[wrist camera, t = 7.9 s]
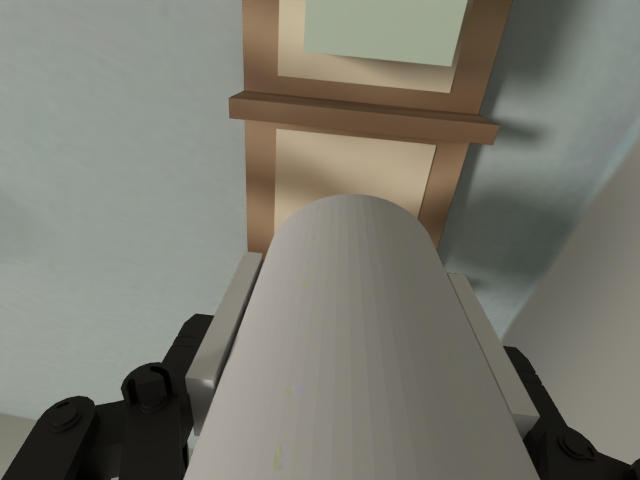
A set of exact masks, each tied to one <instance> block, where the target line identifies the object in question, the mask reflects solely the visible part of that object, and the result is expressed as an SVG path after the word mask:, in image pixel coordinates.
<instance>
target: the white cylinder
mask: <svg viewBox="0 0 640 480" xmlns="http://www.w3.org/2000/svg"><path fill="white" fill-rule="evenodd" d="M183 480H540V478H539V476H538V474H537V472H536V470H535V467H534V465H533V463H532V461H531V459H530V456H529V454H528V452H527V450H526V447H525V445H524V443H523V441H522V439H521V436H520V434H519V432H518V430H517V428H516V425H515V423H514V421H513V419H512V417H511V414H510V412H509V410H508V408H507V406H506V403H505V401H504V399H503V397H502V395H501V392H500V390H499V388H498V386H497V384H496V381H495V379H494V377H493V375H492V373H491V370H490V368H489V366H488V364H487V361H486V359H485V357H484V355H483V353H482V350H481V348H480V346H479V344H478V342H477V339H476V337H475V335H474V333H473V331H472V328H471V326H470V324H469V322H468V320H467V317H466V315H465V313H464V311H463V309H462V306H461V304H460V302H459V300H458V298H457V295H456V293H455V291H454V289H453V286H452V284H451V282H450V280H449V278H448V275H447V273H446V271H445V269H444V267H443V264H442V262H441V260H440V258H439V256H438V253H437V251H436V249H435V247H434V245H433V242H432V240H431V238H430V236H429V234H428V232H427V231H426V229H425V228H424V227H423V225H422V224H421V223H420V222H419V221H418V220H417V219H416V218H415V217H414V216H413V215H412V214H411V213H409V212H408V211H407V210H405V209H404V208H402V207H400V206H399V205H397V204H395V203H393V202H390V201H388V200H385V199H382V198H379V197H375V196H370V195H363V194H341V195H334V196H329V197H325V198H322V199H319V200H316V201H314V202H311V203H309V204H307V205H305V206H303V207H302V208H300V209H299V210H297V211H296V212H294V213H293V214H292V215H291V216H289V217H288V218H287V219H286V220H285V221H284V222H283V224H282V225H281V226H280V227H279V229H278V230H277V232H276V233H275V235H274V237H273V239H272V241H271V244H270V247H269V249H268V252H267V255H266V257H265V260H264V263H263V266H262V268H261V271H260V274H259V276H258V279H257V282H256V284H255V287H254V290H253V293H252V295H251V298H250V301H249V303H248V306H247V309H246V312H245V314H244V317H243V320H242V322H241V325H240V328H239V330H238V333H237V336H236V339H235V341H234V344H233V347H232V349H231V352H230V355H229V357H228V360H227V363H226V366H225V368H224V371H223V374H222V376H221V379H220V382H219V384H218V387H217V390H216V393H215V395H214V398H213V401H212V403H211V406H210V409H209V412H208V414H207V417H206V420H205V422H204V425H203V428H202V430H201V433H200V436H199V439H198V441H197V444H196V447H195V449H194V452H193V455H192V458H191V461H190V463H189V466H188V468H187V471H186V474H185V476H184V479H183Z"/></svg>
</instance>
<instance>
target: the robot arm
mask: <svg viewBox="0 0 640 480" xmlns="http://www.w3.org/2000/svg"><path fill="white" fill-rule="evenodd" d="M261 268H262V253H254V252H245V253H244V255H243V257H242V260H241V262H240V264H239V266H238V268H237V270H236V272H235V274H234V276H233V278H232V280H231V283H230V285H229V287H228V289H227V291H226V293H225V295H224V297H223V299H222V301H221V303H220V305H219V308H218V310H217V312H216V314H215V316H213V315H204V314H195V315H193V316H192V317H191V318H190V319H189V320H187V321H186V322H185V323H184V325H183V327H182V328H181V330H180V332H179V333H178V336H177V337H176V339H175V340H174V342H173V345H172V346H171V347H170V349H169V351H168V353H167V354H166V356H165V358H164V360H163V361H162V363H160V362H156V363H148V364H145V365H142V366H140V367H138V368H136V369H135V370H133V371H132V372H130V374H129V375H128V376H127V377H126V378H125V379H124V381H123V384H122V386H121V391H122V394H123V397H124V400H122V401H117V402H112V403H107V404H101V405H96V406H95V404H94V402H93V401H92V400H91V399H90V398H88V397H84V396H75V397H70V398H66V399H64V400H62V401H60V402H57V403H55V404H54V405H53V406H51V407H50V408H49V409H47V410H46V411H45V412H44V413H43V415H42V416H41V417H40V418H39V419H38V421H37V423H36V425H35V426H34V427H33V429H32V431H31V432H30V434H29V436H28V437H27V439H26V440H25V442H24V444H23V445H22V447H21V448H20V450H19V452H18V454H17V455H16V457H15V458H14V460H13V461H12V463H11V465H10V466H9V468H8V470H7V471H6V473H5V475H4V476H3V478H2V479H1V480H111V478H115V477H119V480H183V479H184V476H185V474H186V471H187V468H188V466H189V454H188V453H189V452H188V443H187V440H188V437H189V435H190V432H191V430H192V427H193V429H194V435H195V436H200V433H201V430H202V428H203V425H204V422H205V420H206V417H207V414H208V412H209V409H210V406H211V403H212V401H213V398H214V395H215V393H216V390H217V387H218V384H219V382H220V379H221V376H222V374H223V371H224V368H225V366H226V363H227V360H228V357H229V355H230V352H231V349H232V347H233V344H234V341H235V339H236V336H237V333H238V330H239V328H240V325H241V322H242V320H243V317H244V314H245V312H246V309H247V306H248V303H249V301H250V298H251V295H252V293H253V290H254V287H255V284H256V282H257V279H258V276H259V274H260V271H261ZM447 275H448V278H449V280H450V282H451V284H452V286H453V289H454V291H455V293H456V295H457V298H458V300H459V302H460V304H461V306H462V309H463V311H464V313H465V315H466V317H467V320H468V322H469V324H470V326H471V328H472V331H473V333H474V335H475V337H476V339H477V342H478V344H479V346H480V348H481V350H482V353H483V355H484V357H485V359H486V361H487V364H488V366H489V368H490V370H491V373H492V375H493V377H494V379H495V381H496V384H497V386H498V388H499V390H500V392H501V395H502V397H503V399H504V401H505V403H506V406H507V408H508V410H509V412H510V414H511V417H512V419H513V421H514V423H515V425H516V428H517V430H518V432H519V434H520V436H521V439H522V441H523V443H524V445H525V447H526V450H527V452H528V454H529V456H530V459H531V461H532V463H533V465H534V467H535V470H536V472H537V474H538V476H539V478H540V480H640V459H638V460H636V461H635V462H634V463H633V464H632V465H629V464H627V463H624V462H622V461H619V460H617V459H614V458H611V457H609V456H606V455H604V454H602V453H599V452H597V450H596V449H595V447H594V446H593V445H592V444H591V442H590V441H589V440H587V439H586V438H585V437H584V436H583V435H582V434H580V433H579V432H577V431H575V430H574V429H572V428H570V427H568V426H567V425H566V423H565V421H564V420H563V418H562V416H561V414H560V413H559V411H558V409H557V408H556V406H555V404H554V403H553V401H552V399H551V397H550V396H549V394H548V392H547V391H546V389H545V387H544V386H543V385H542V382H541V380H540V379H539V377H538V375H536V374H535V373H536V372H535V370H534V368H533V367H532V365H531V363H530V362H529V360H528V359H527V358H526V357H525V356H524V355H523V354H522V353H521V352H520V351H519V350H518V349H517V348H516V347H507V346H502V344H501V342H500V340H499V338H498V336H497V334H496V333H495V331H494V329H493V327H492V325H491V323H490V321H489V319H488V317H487V316H486V314H485V312H484V310H483V308H482V306H481V304H480V302H479V300H478V299H477V297H476V295H475V293H474V291H473V289H472V287H471V285H470V283H469V282H468V280H467V278H466V276H465V275H461V274H452V273H447Z"/></svg>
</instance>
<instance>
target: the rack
mask: <svg viewBox="0 0 640 480" xmlns="http://www.w3.org/2000/svg"><path fill="white" fill-rule="evenodd" d="M512 2H513V0H468V1H467V5H466V9H465V13H464V17H463V21H462V25H461V29H460V33H459V37H458V41H457V45H456V49H455V53H454V57H453V61H452V65H451V66H441V65H431V64H421V63H411V62H401V61H391V60H381V59H371V58H362V57H352V56H342V55H332V54H322V53H312V52H303V46H304V28H305V10H306V0H242V15H243V60H244V91H242V92H240V93H238V94H236V95H234V96H232V97H230V98H229V116H230V118H233V119H243V120H245V149H246V194H247V238H248V252H254V253H262V266H263V263H264V260H265V257H266V255H267V252H268V249H269V247H270V244H271V241H272V239H273V237H274V235H275V233H276V232H277V230H278V229H279V227H280V226H281V225H282V224H283V222H284V221H285V220H286V219H287V218H288V217H289V216H291V215H292V214H293V213H294V212H296V211H297V210H299V209H300V208H302V207H303V206H305V205H307V204H309V203H311V202H314V201H316V200H319V199H322V198H325V197H329V196H334V195H341V194H363V195H370V196H375V197H379V198H382V199H385V200H388V201H390V202H393V203H395V204H397V205H399V206H400V207H402V208H404V209H405V210H407V211H408V212H409V213H411V214H412V215H413V216H414V217H415V218H416V219H417V220H418V221H419V222H420V223H421V224H422V225H423V227H424V228H425V229H426V231H427V232H428V234H429V236H430V238H431V240H432V242H433V245H434V247H435V249H436V251H437V248H438V245H439V242H440V238H441V235H442V232H443V228H444V225H445V222H446V219H447V215H448V212H449V209H450V205H451V202H452V199H453V196H454V192H455V189H456V186H457V182H458V179H459V176H460V173H461V169H462V166H463V163H464V159H465V156H466V153H467V150H468V146H469V143H478V144H488V145H493V144H494V141H495V138H496V135H497V132H498V129H499V126H500V125H498V124H496V123H494V122H492V121H490V120H488V119H486V118H484V117H482V116H480V115H478V113H479V110H480V107H481V104H482V100H483V97H484V94H485V90H486V87H487V84H488V81H489V77H490V74H491V71H492V67H493V64H494V61H495V58H496V54H497V51H498V48H499V44H500V41H501V38H502V35H503V31H504V28H505V25H506V21H507V18H508V15H509V12H510V8H511V5H512Z"/></svg>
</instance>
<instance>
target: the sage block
mask: <svg viewBox="0 0 640 480" xmlns="http://www.w3.org/2000/svg"><path fill="white" fill-rule="evenodd" d="M467 1H468V0H306V10H305V28H304V46H303V52H312V53H322V54H332V55H342V56H352V57H362V58H371V59H381V60H391V61H401V62H411V63H421V64H431V65H441V66H451V65H452V61H453V57H454V53H455V49H456V45H457V41H458V37H459V33H460V29H461V25H462V21H463V17H464V13H465V9H466V5H467Z"/></svg>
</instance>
